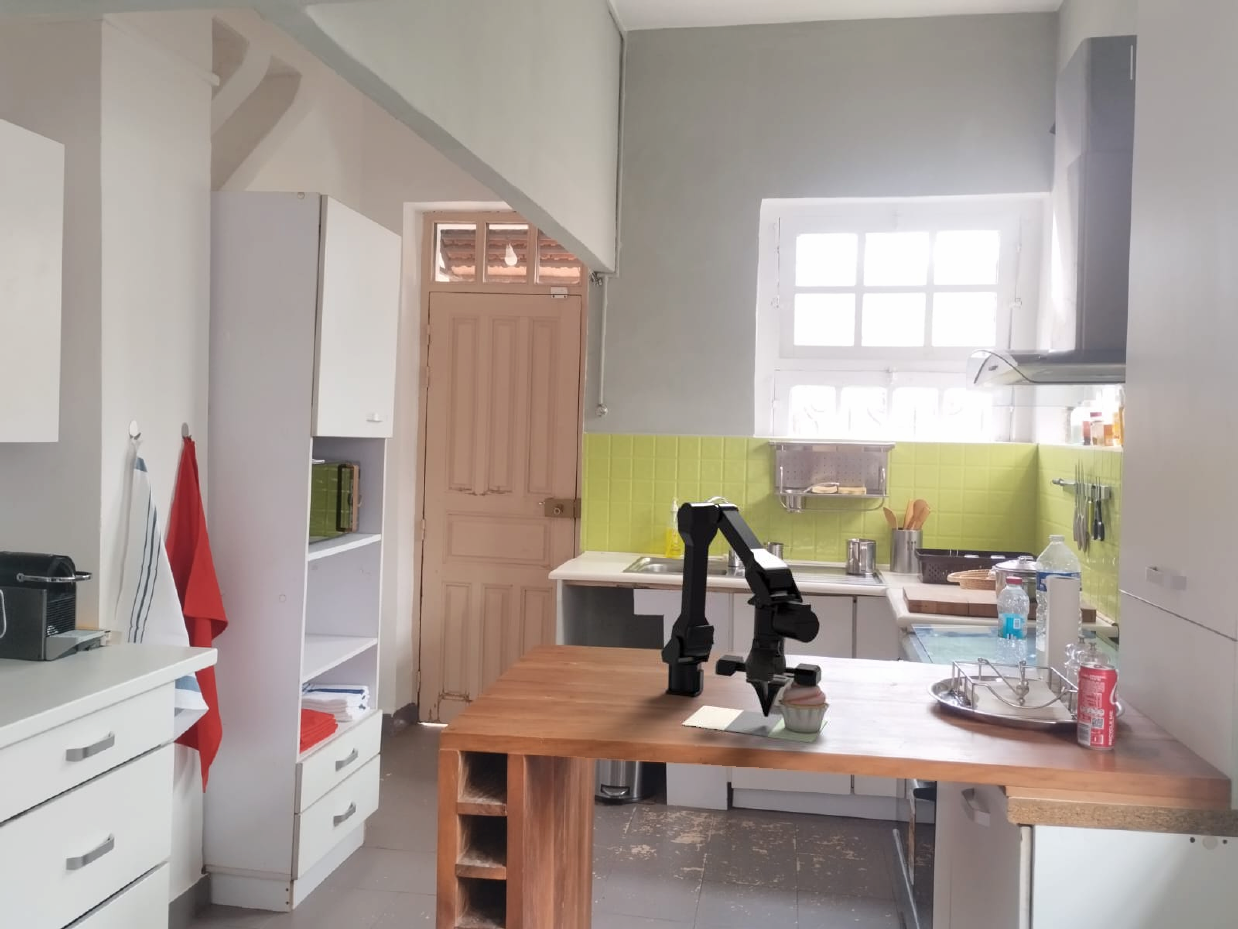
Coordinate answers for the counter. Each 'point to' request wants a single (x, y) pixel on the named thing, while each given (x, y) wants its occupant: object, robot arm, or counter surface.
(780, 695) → the white cube
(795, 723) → the cupcake
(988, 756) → the counter surface
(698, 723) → the game board
